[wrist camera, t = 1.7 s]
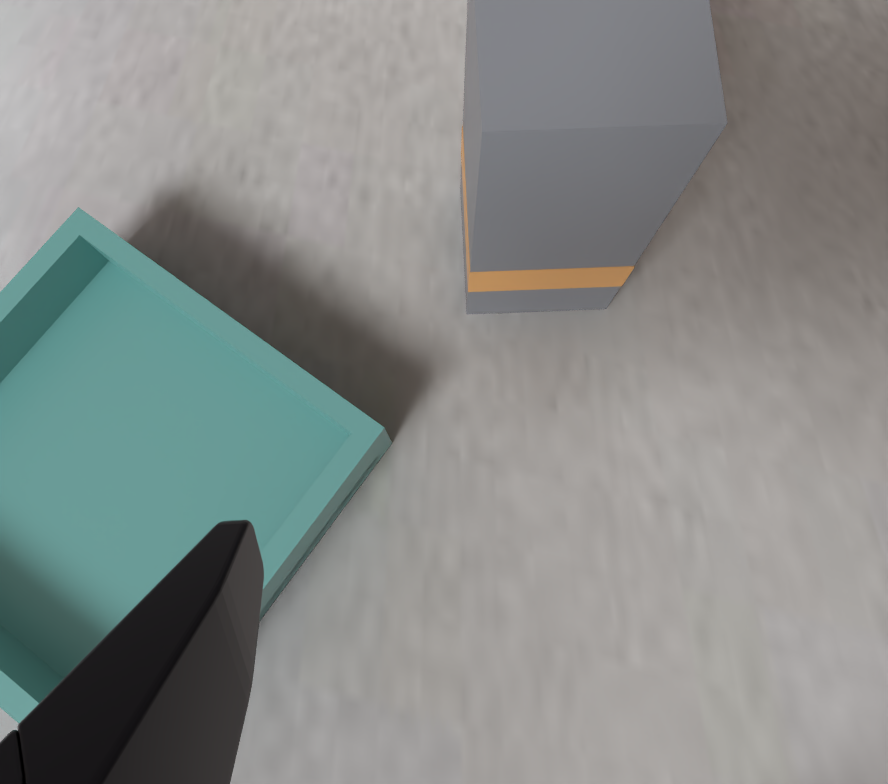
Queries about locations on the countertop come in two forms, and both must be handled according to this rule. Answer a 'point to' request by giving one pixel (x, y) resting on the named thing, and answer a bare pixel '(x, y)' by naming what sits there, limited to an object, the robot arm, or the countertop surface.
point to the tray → (144, 448)
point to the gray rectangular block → (578, 142)
